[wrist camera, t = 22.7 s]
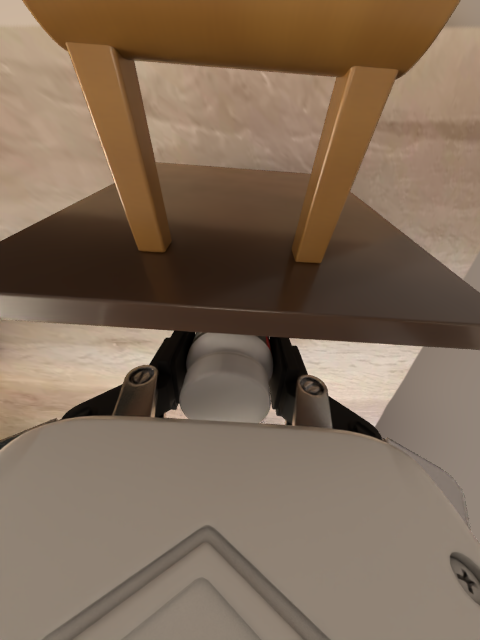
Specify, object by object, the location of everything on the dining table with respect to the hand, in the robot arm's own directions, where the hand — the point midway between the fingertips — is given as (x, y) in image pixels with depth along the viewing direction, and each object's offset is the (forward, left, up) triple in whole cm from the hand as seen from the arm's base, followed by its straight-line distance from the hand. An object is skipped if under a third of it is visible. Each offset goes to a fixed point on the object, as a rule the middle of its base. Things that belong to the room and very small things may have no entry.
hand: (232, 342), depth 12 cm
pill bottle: (0, 0, -4) cm, 4 cm away
